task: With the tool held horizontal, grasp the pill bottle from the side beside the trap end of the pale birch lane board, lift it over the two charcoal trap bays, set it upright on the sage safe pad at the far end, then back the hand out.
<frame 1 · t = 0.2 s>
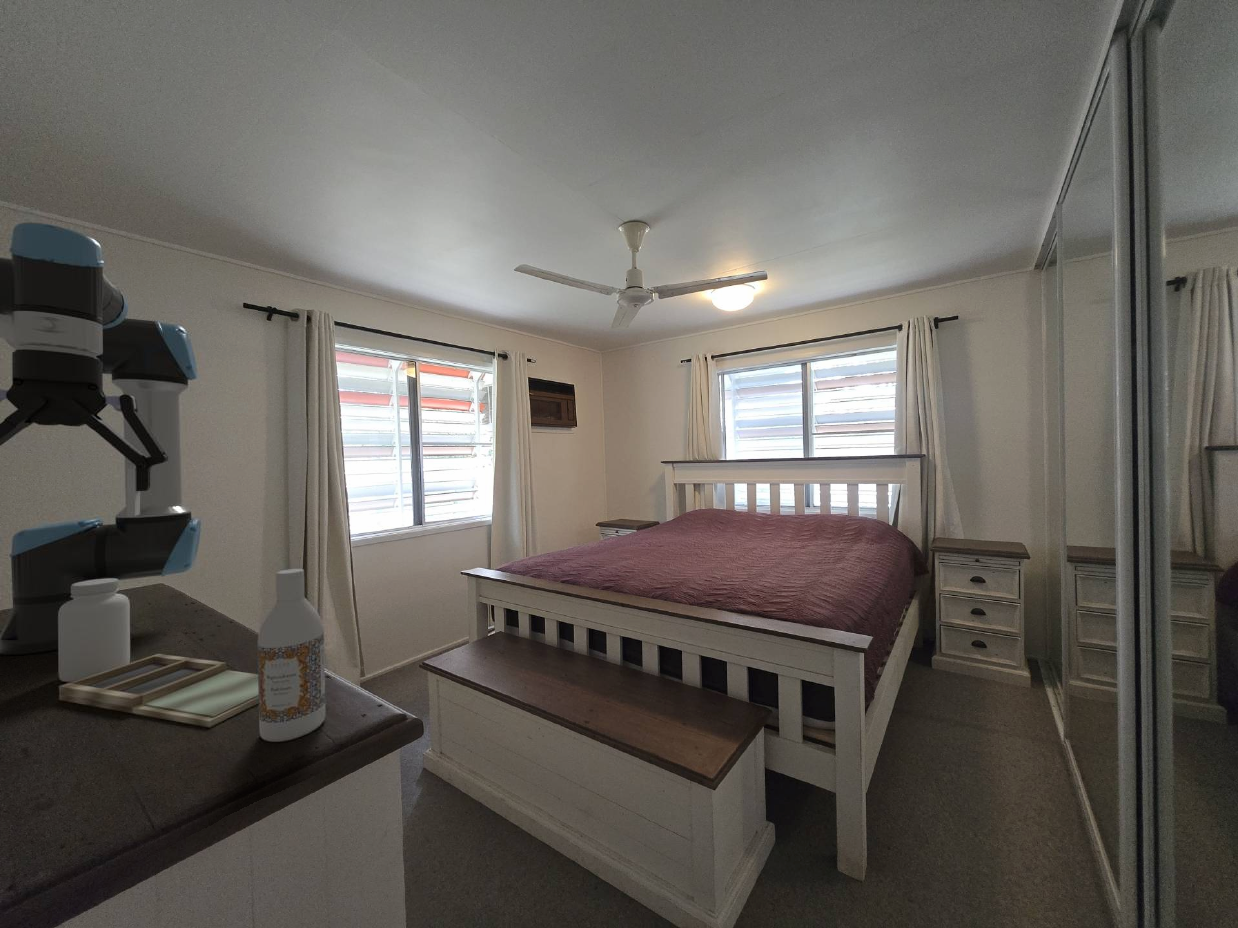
hand: (59, 518, 62), 27 cm above the table, tool pointing down, fingers open, 13 cm apart
bath foam: (293, 729, 61), on the table
pill bottle: (96, 673, 79), on the table
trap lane: (180, 692, 71), on the table
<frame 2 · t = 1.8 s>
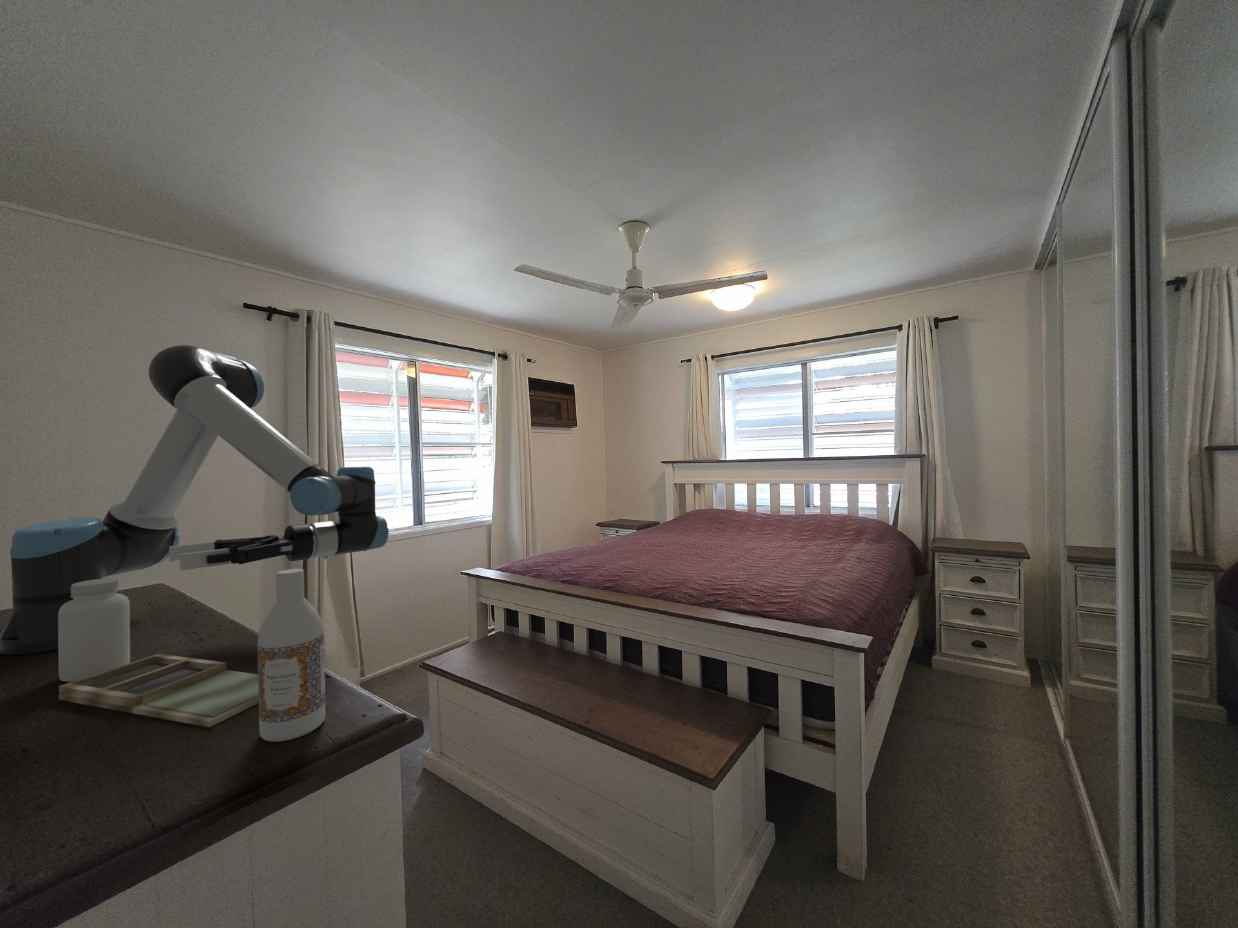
hand: (174, 557, 86), 17 cm above the table, tool horizontal, fingers open, 13 cm apart
nothing on the table moved.
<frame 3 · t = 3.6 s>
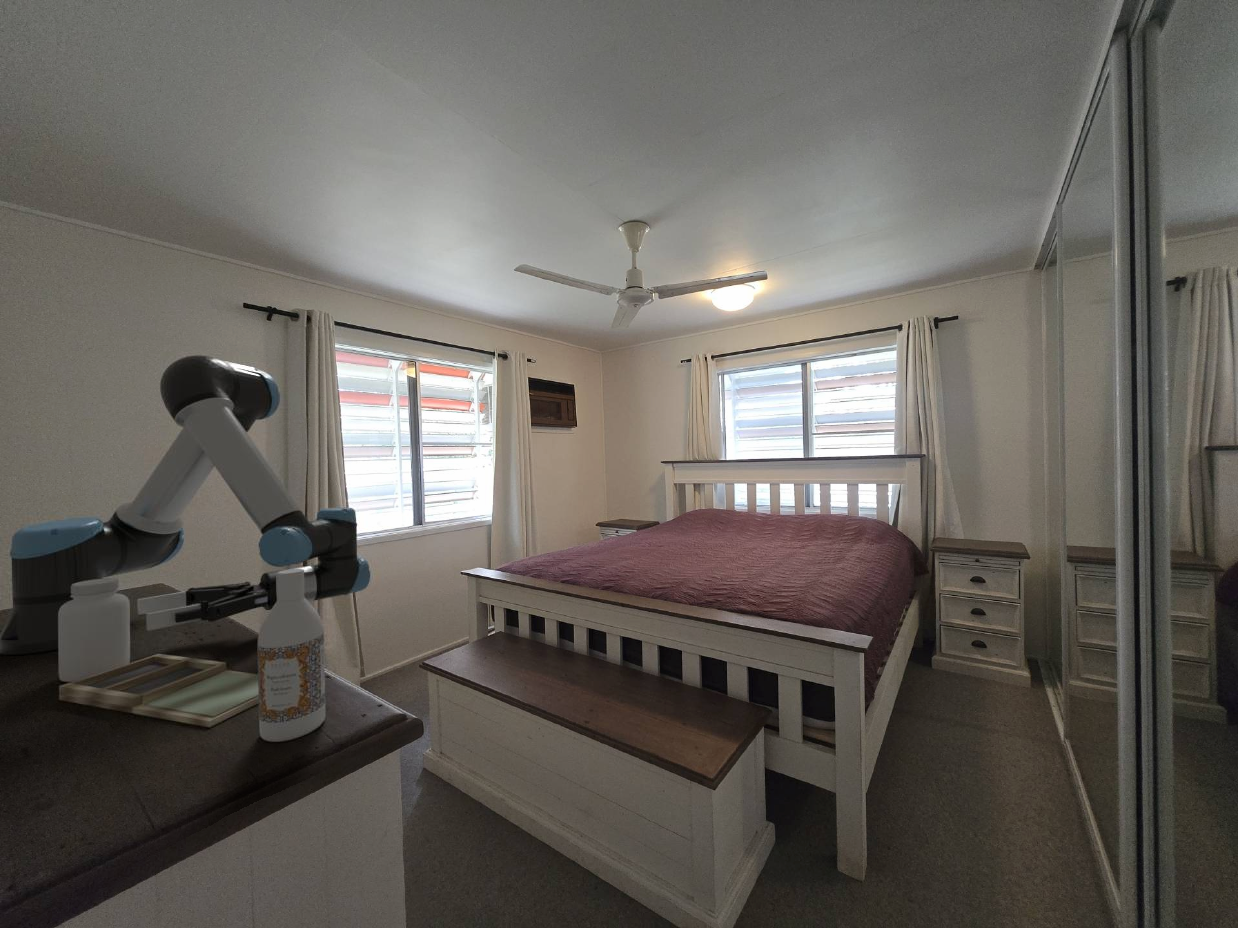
hand: (141, 614, 82), 8 cm above the table, tool horizontal, fingers open, 13 cm apart
nothing on the table moved.
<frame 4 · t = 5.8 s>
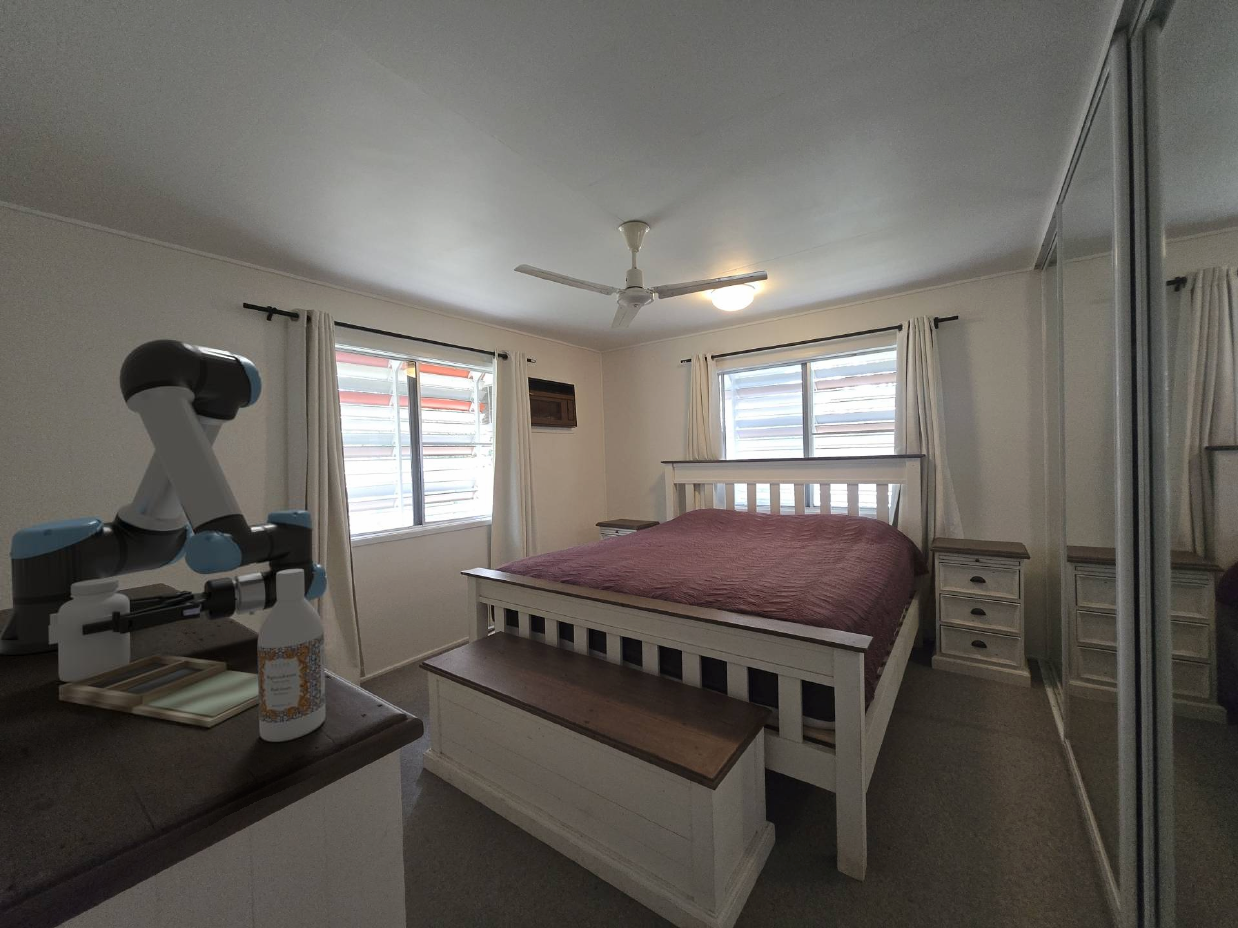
hand: (49, 628, 75), 9 cm above the table, tool horizontal, fingers closed on pill bottle, 8 cm apart
pill bottle: (96, 673, 79), on the table, touching gripper
everything else where it was.
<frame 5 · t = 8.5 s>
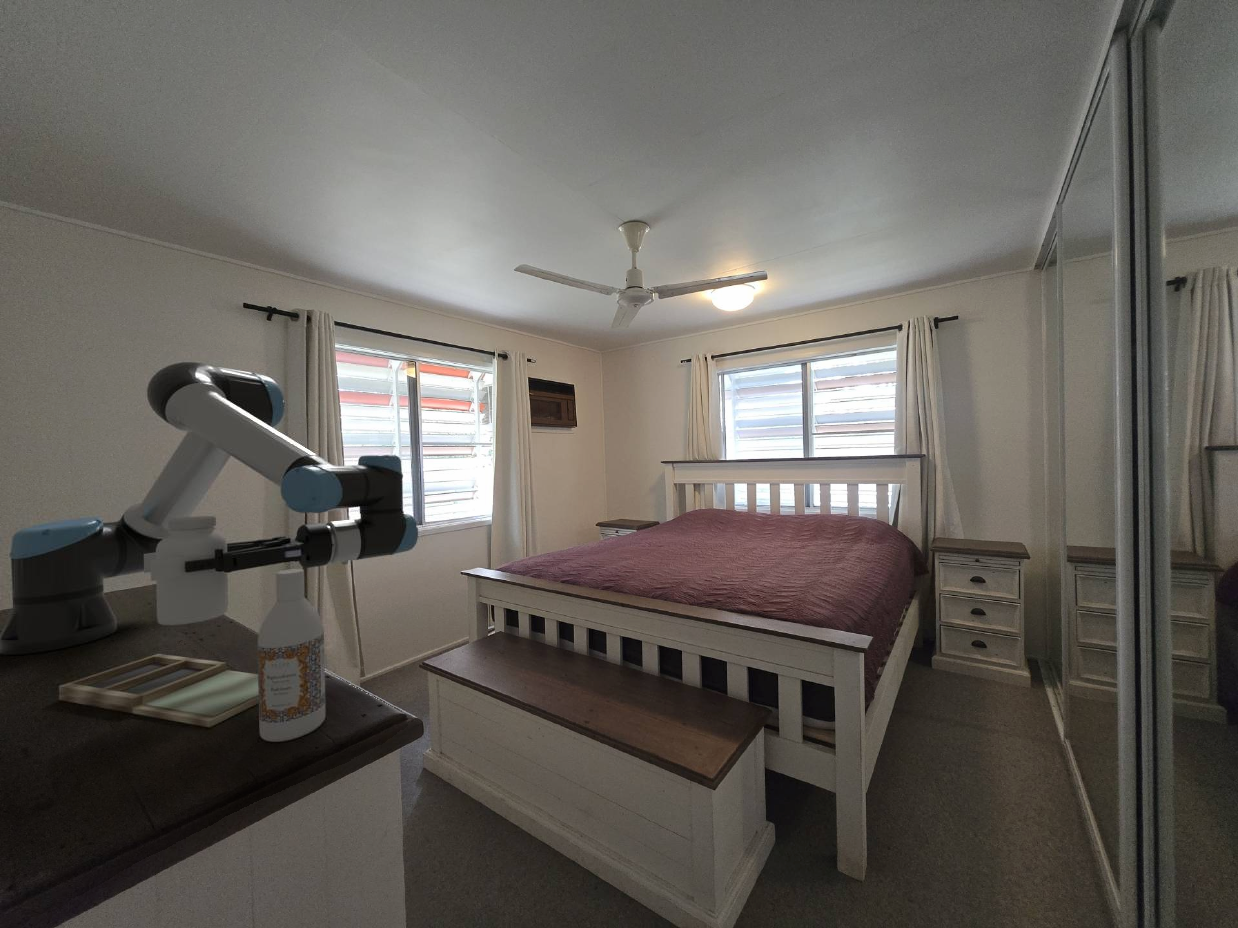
hand: (147, 566, 68), 19 cm above the table, tool horizontal, fingers closed on pill bottle, 8 cm apart
pill bottle: (194, 619, 71), point 11 cm above the table, touching gripper
everything else where it was.
when the fingers open (11 cm above the table, at t = 11.2 s): pill bottle drops 1 cm, resting on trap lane.
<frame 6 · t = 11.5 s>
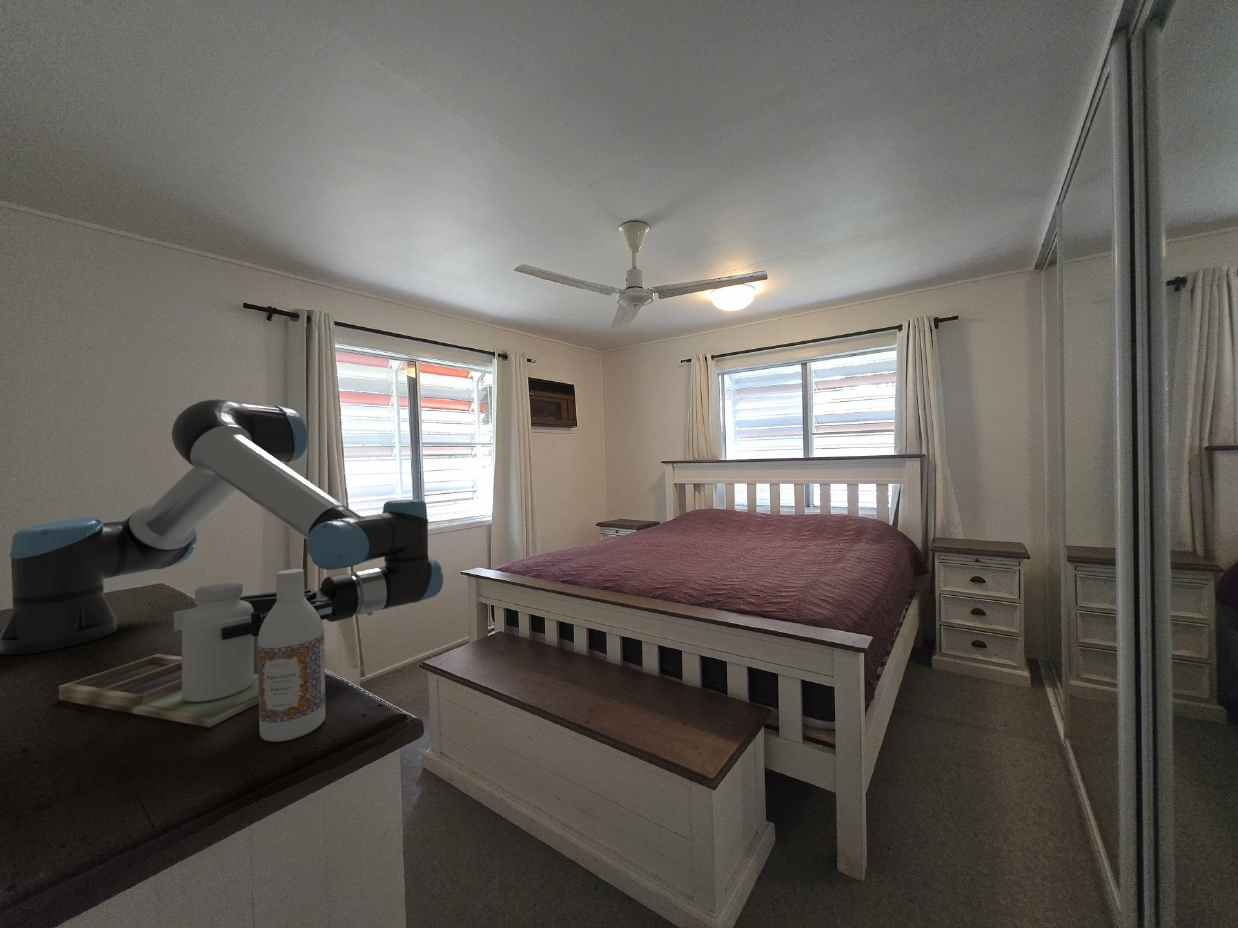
hand: (180, 630, 66), 11 cm above the table, tool horizontal, fingers open, 11 cm apart
pill bottle: (219, 691, 69), point 1 cm above the table, touching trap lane
everything else where it was.
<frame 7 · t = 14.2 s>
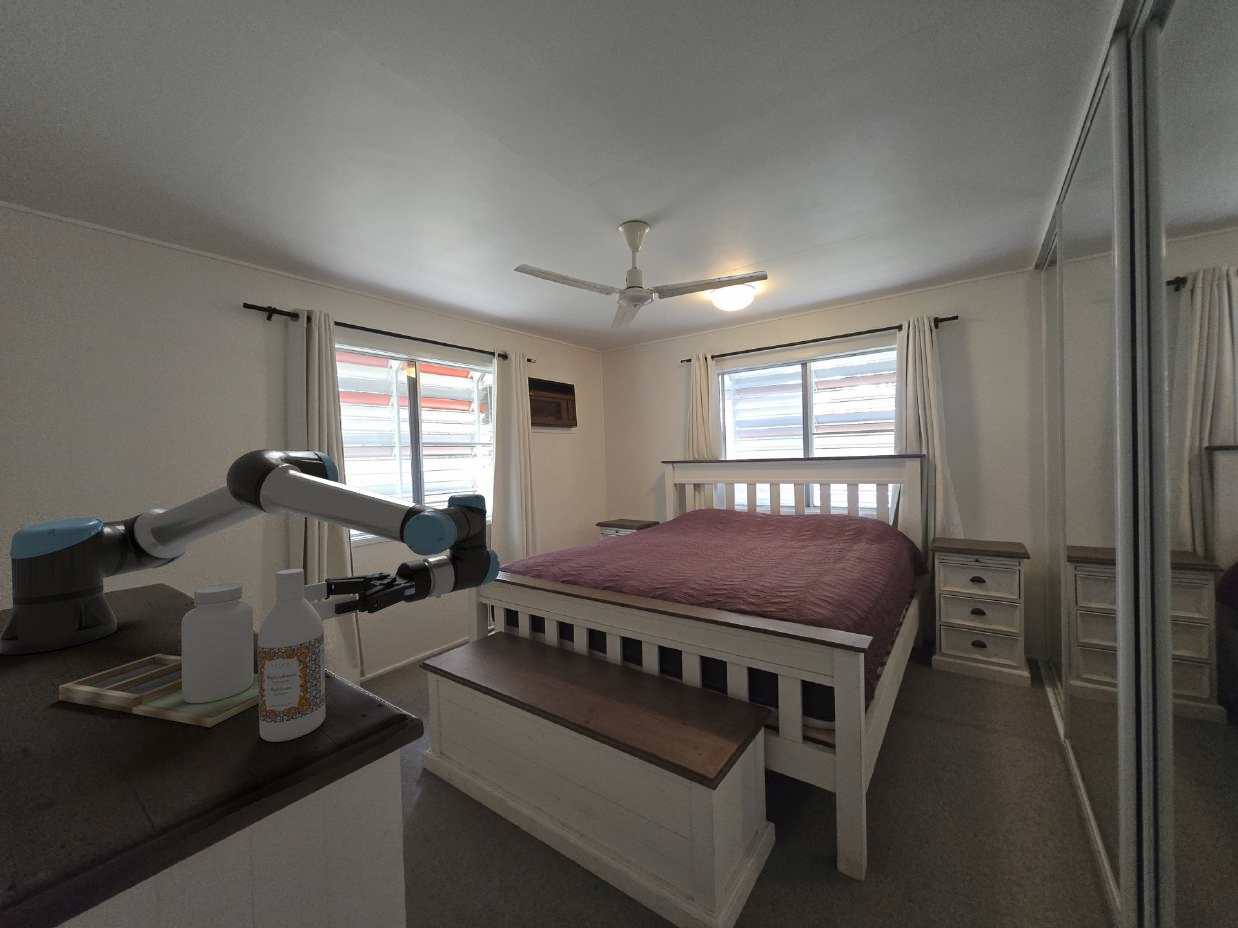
hand: (294, 605, 76), 11 cm above the table, tool horizontal, fingers open, 13 cm apart
nothing on the table moved.
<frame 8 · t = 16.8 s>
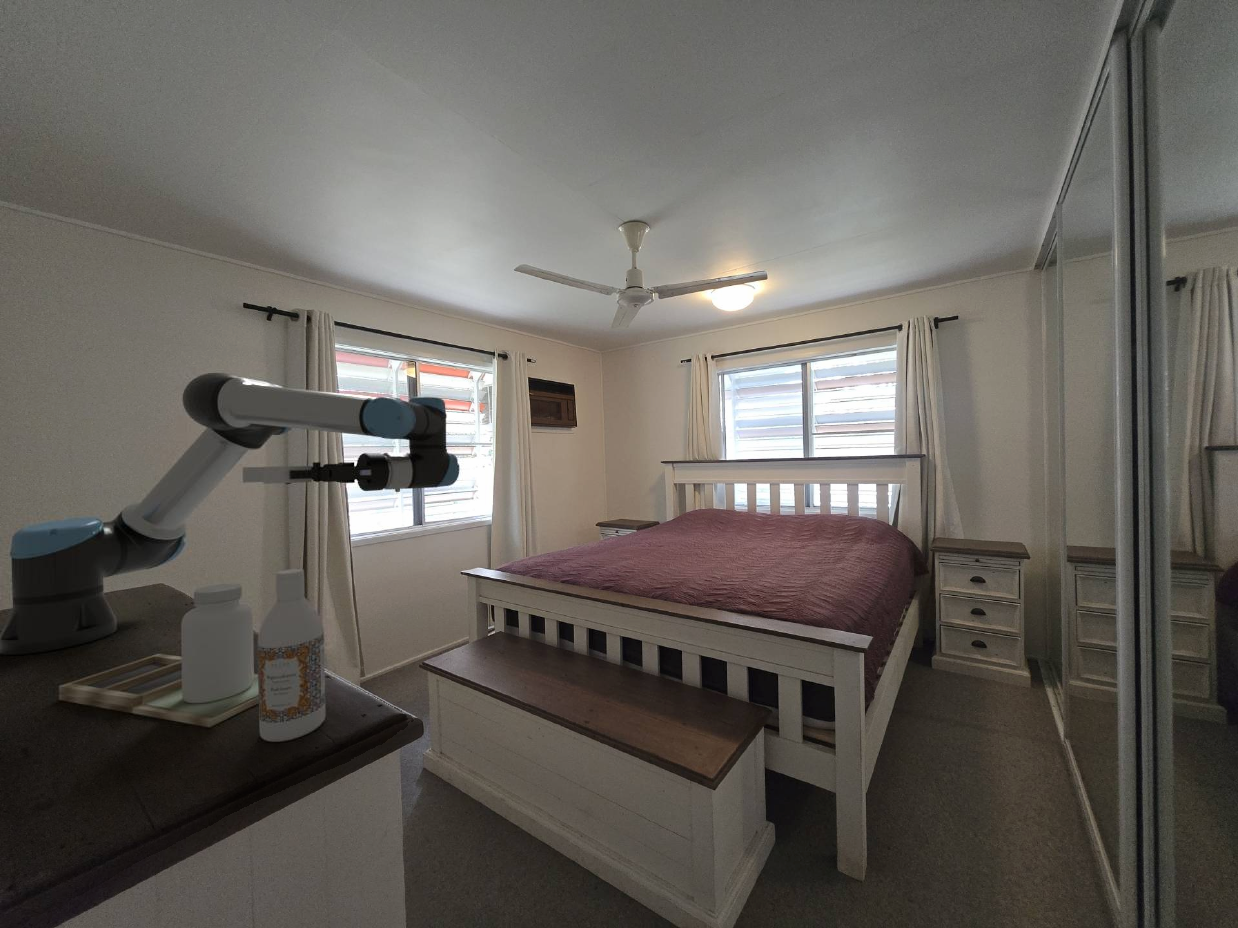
hand: (252, 475, 80), 32 cm above the table, tool horizontal, fingers open, 13 cm apart
nothing on the table moved.
at the end: pill bottle inside the target area on the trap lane (0.9 cm from its centre), point 0.8 cm above the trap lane's base; pill bottle tilted 0°; the gripper is holding nothing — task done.
